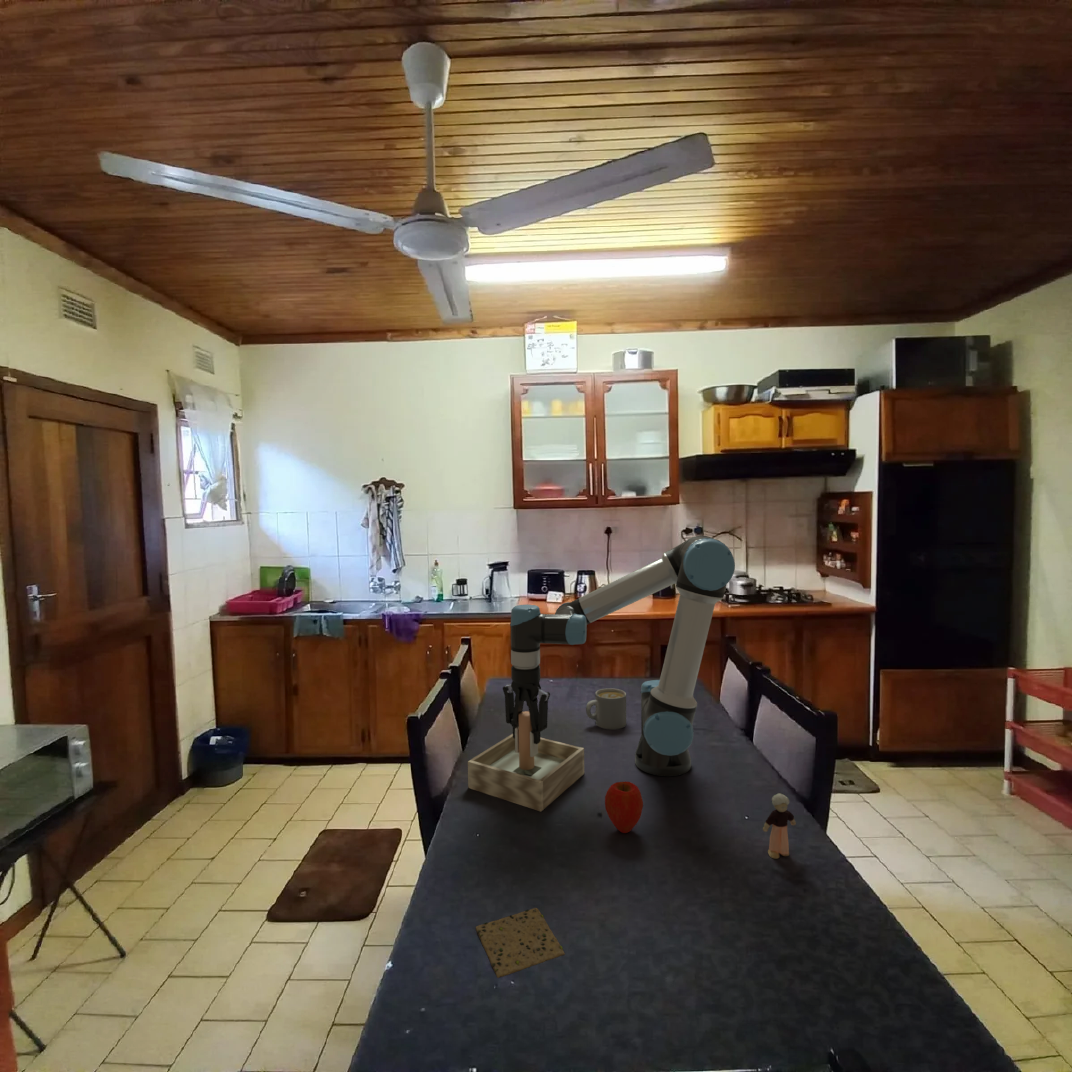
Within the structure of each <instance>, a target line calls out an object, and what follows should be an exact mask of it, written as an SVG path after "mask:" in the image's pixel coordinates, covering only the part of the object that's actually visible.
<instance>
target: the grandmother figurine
mask: <svg viewBox="0 0 1072 1072" xmlns="http://www.w3.org/2000/svg"><path fill="white" fill-rule="evenodd" d="M771 801H772V802H771V804H772V805H773V807H774V810H772V812H771V813H770V814H769V815H768V817H767V819H766V820H765V822H764V826H763V827H762V831H763V832H764V833H767V832H768V831H769V828H770V827H771V826H772V827H771V832H770V835H769V845H768V850H767V853H768V855H769V857H770V858H771V859H774V860H775V859H779V858H780V855H781V856H783V857H788V856H790V849H789V848H790V847H789V835H788V833H789V832H788V821H789V822H790V825H791V826H796V825H797V822H796V820H795V816H794V815H793V813H792V812H791V811H789V810H787V809H788V805H789V804H790V799H789V797H787V796H786V795H784V794H782V793H779V792H778V793H777V794H774V795H773V796H772V797H771Z"/></svg>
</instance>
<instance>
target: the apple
mask: <svg viewBox="0 0 1072 1072" xmlns="http://www.w3.org/2000/svg"><path fill="white" fill-rule="evenodd" d="M641 793H642V792H641V790H640V788H639V786H637V785H636V784H635V783H633V782H631V781H617V782H614V783H612V784H611V785H610V786H609V788H608V789H607V791H606V792H605V795H604V807H605V811H606V813H607V816H608V818H609V820H610V821H611V823H612V824H613V826H614V827H615V829H617V830H618V831H619V832H621V833H622V834H627V833H630V832H631V831H632V830H633V829H634V827H636V825H637V823H639V821H640V819H641V816H642V812H643V807H644V801H643V796H642V794H641Z"/></svg>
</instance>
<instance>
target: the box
mask: <svg viewBox="0 0 1072 1072" xmlns="http://www.w3.org/2000/svg"><path fill="white" fill-rule="evenodd" d="M583 775H585V748H584V747H581V746H577V745H572V744H568V743H564V742H561V741H556V740H552V739H548V738H544V737H541V736H540V743H538V754H536V755H535V756H534V768H533V769H530V770H523V769H521V768H520V767H519V752H518V753H516V752H515V739H514V738H513V733H511V734H510V735H508V736H506V737H505V738H503V739H502V740H499V742H497V743H495V744H494V745H492V746H490V747H489V748H487V749H485V750H484V751H483V752H481V753H479V754H477V755H476V756H474V757H472V758H471V759H470V760H468V761H467V779H468V780H467V784H468V789H471V790H474V791H476V792H478V793H479V792H480V793H481V794H482V793H483V794H486V795H489V796H491V797H495V798H497V799H501V800H504V801H507V802H510V803H513V804H517V805H520V806H523V807H525V808H528V809H532V810H535V811H538V812H542V811H544V809H545V810H546V808H547V807H548V806H549V805H551V804H552V803H553V802H554V801H555V800H556V799H558V798H559V796H561V795H562V794H563V793H564V792H566V790H568V788H570V787H571V786H572V785H573V784H575V783H576V782H577V781H578V780H579V779H580V778H581V777H582V776H583Z"/></svg>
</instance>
